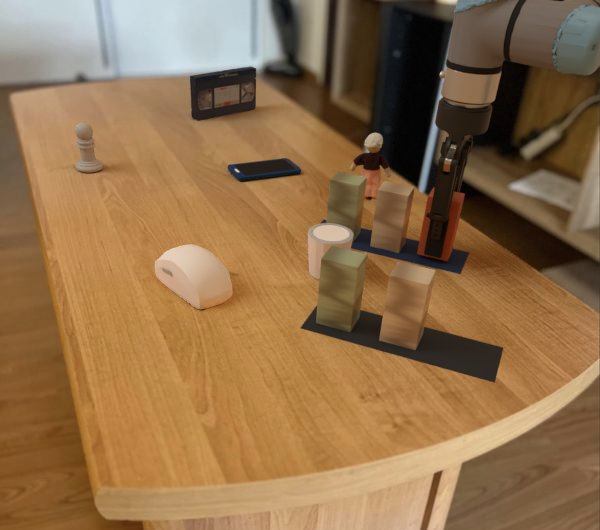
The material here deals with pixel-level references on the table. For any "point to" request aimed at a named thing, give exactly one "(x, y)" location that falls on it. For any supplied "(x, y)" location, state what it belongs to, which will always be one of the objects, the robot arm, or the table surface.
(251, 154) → the table surface
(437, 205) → the robot arm
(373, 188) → the grandmother figurine
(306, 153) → the table surface
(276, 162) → the cell phone
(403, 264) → the near blocks
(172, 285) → the computer mouse
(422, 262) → the word mat far
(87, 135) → the chess piece
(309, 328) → the mat
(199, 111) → the vhs cassette tape
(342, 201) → the far blocks
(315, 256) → the pale pink cylinder
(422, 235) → the orange rectangular block
